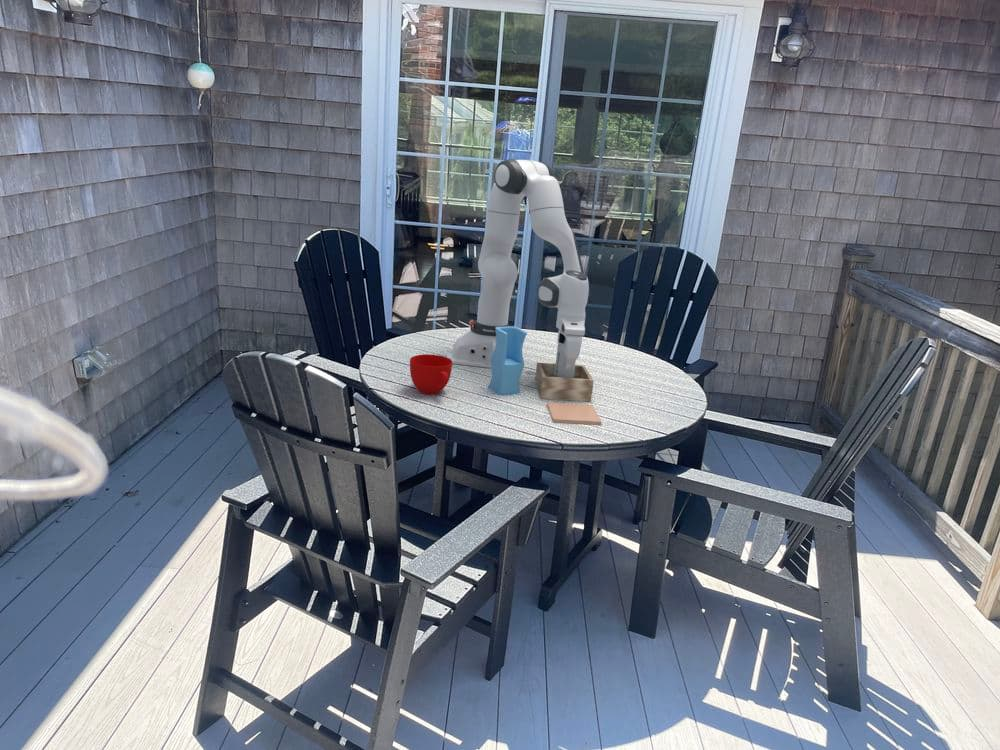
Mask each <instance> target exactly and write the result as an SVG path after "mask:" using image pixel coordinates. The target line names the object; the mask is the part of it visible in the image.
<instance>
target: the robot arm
mask: <svg viewBox="0 0 1000 750" xmlns="http://www.w3.org/2000/svg"><path fill="white" fill-rule="evenodd" d="M493 179H494V183H493V184H492V188H491V191H490V196H489V200H488V205H487V212H486V220H485V221H486V222H485V231H484V236H483V241H482V245H481V249H480V252H479V258H478V261H477V267H478V271H479V274H480V275H481V277H483V281H482V287H481V288H482V289H481V291H480V296H479V298H478V302H477V313H476V315H477V317H476V320H474V319H469V321H468V323H469V326H470V330H469V331H468V332H466V333H465V334H462V335H461V336H459V337H458V338H457V339H456V340H455V341H454V344H453V348H452V350H449V351H448V352H447V353H446V355H445V357H447V358H449V359H451V360H452V364H455V365H463V366H471V367H480V368H486V369H487V368H488V369H492V368H491V361H490V360H491V356H492V354H493V352H494V350H495V347H496V329H495V328H496V327H509V326H510V325H509V315H510V314H509V313H510V305H511V300H512V299H511V298H512V295H513V291H514V287H515V283H516V281H517V279H518V273H519V271H518V268H517V264H516V263H515V262H514V260H513V259H512V258H511V257H512V253H513V252H512V251H513V249H514V245H515V242H516V239H517V238H518V232H519V224H520V223H519V222H520V215H521V206H522V201H523V199H524V198H525V197H526V198H527V201H528V209H529V221H530V224H531V229H532V231H533V232H534V234H535V235H537V236H538V237H539V238H540V239H542V240H544V241H546V242H549V243H550V244H552V245H553V246H555V248H557V249H558V250H559V252H560V254H561V258H562V263H563V267H564V272H563V273H562V274H559V275H556V276H550V277H546V278H542V280H540V282H539V284H538V286H537V290H536V291H537V293H536V294H537V299H538V301H539V303H540V304H541V305H542V306H544V307H546V308H557V315H556V322H555V323H556V325H555V327H556V329H558V332H557V343H558V341H559V333H561V334H563V335H564V336H565V341H564V347H563V353H564V355H565V356H566V361H565V366H564V367H565V369H570V368H571V363H572V361H573V359H575V360H578V359H579V356H580V353H581V348H582V342H583V336H585V334H586V327H585V323H586V306H587V304H588V299H589V296H590V286H589V283H590V282H589V279H588V278H589V277H588V276H587V275H586V274H585V272H584V267H583V264H582V259H581V255H580V250H579V246H578V242H577V238H576V235H575V232H574V230H573V229H572V228H571V227H570V225H569V222H568V221H567V218H566V214H565V213H566V212H565V207H564V206H565V205H564V201H563V200H564V199H563V195H562V194H563V193H562V190H561V187H560V183H559V181H558V180H557V178H556V174H555V171H554V169H553V167H552V166H551V165H550V164H548V163H547V162H546V163H545V162H543V161H537V160H533V159H513V158H508V159H504V160H501V161H499V163H498V164H497V165H496V167H495V170H494V175H493Z"/></svg>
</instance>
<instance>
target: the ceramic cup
mask: <svg viewBox="0 0 1000 750" xmlns="http://www.w3.org/2000/svg"><path fill="white" fill-rule="evenodd" d="M452 368H453V363H452V360H451V359H449V358H447V357H446V356H444V355H439V354H431V353H430V354H416V355H413V356H412V357H411V358H410V359H409V373H410V378H411V380H412V383H413V386H414V387H415V388H416V389H417V390H418V392H419V393H420V394H423V395H429V396H430V395H438V394H440V393H441V392H442V391H443V390H444V389H445V388H446V386H447V385H448V383H449V381H450V378H451V374H452Z"/></svg>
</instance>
